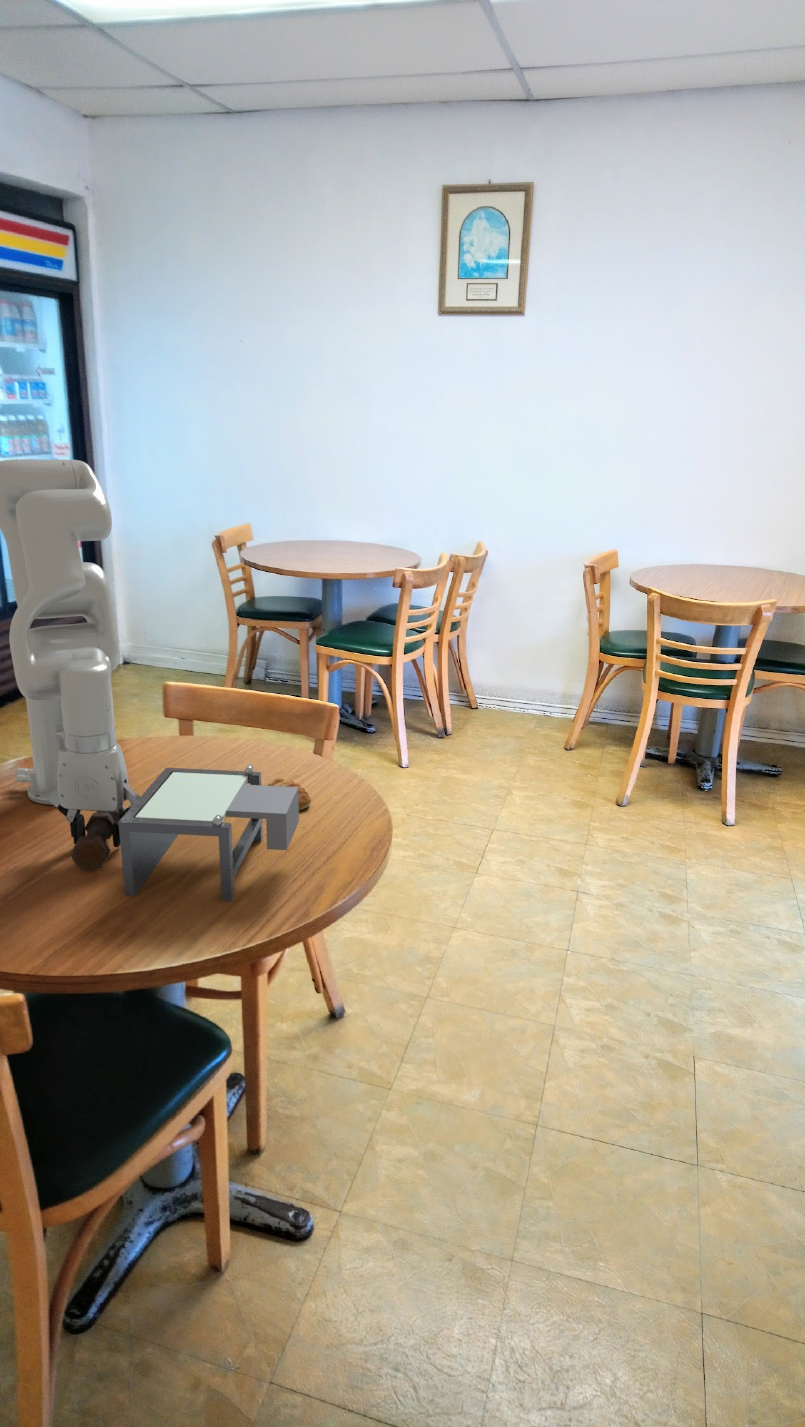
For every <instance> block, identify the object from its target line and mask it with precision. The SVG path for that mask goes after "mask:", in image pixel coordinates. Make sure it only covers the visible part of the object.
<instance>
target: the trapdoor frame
mask: <svg viewBox="0 0 805 1427" xmlns="http://www.w3.org/2000/svg"><path fill="white" fill-rule="evenodd" d="M254 770H255V767H254V765H253V764H248V765H247V766H246V768H245V769H244V771H243V770H228V769H227V770H226V769H225V770H224V769H223V770H222V769H203V768H186V767H185V768H182V767H181V768H180V767H164V770H163V771H162V772H161V773H160V774H158V776H157V777H156V778H155V779H154V781H152V783H151V784H150V785H149V786H148V788H147V789H146V790H145V791H144V792H143V793H142V794H141V795H140V798H139V799H138V800H137V801H136V802H135V804H134V805H133V806H132V807H131V808H130V809H129V810H128V812H127V813H126V814H125V815H124V816H123V817H122V818H121V820H120V821H119V834H120V854H121V868H122V878H123V890H124V896H125V897H136V896H137V893H139V891H140V890H141V889H142V887H143V885H144V884H145V883H146V882H147V880H148V878H149V877H150V876H151V874H152V873H153V871H154V870H155V868H156V867H157V865H158V864H159V863H160V862H161V860H162V859H163V857H164V856H165V854H166V853H167V851H168V850H169V848H170V847H171V846H172V844H173V843H174V842H175V840H176V838H177V837H178V835H181V836H183V835H185V836H202V837H203V836H204V837H218V848H219V849H218V852H219V874H220V875H219V876H220V895H221V897H220V898H221V902H227V903H228V902H229V903H233V900H234V898H235V884H234V879H235V877H236V875H237V873H238V872H239V870H240V867H241V865H242V862H243V861H244V859H245V857H246V855H247V853H248V851H249V850H250V847H251V845H252V843H253V842H258V843H261V842H262V841H263V839H264V826H263V825H264V824H263V822H264V821H263V820H264V819H258V818H249V821H248V823H247V824H246V825H245V828H244V830H243V831H242V833H241V836H240V837H239V839H238V841H237V842H236V845H235V847H234V849H233V836H232V835H233V834H232V833H233V832H232V830H233V829H232V822H223V823H222V820H223V817H222V816H221V815H216V816H215V817H214V819H213V820H212V822H202V821H183V820H164V819H144V818H135V817H136V816H137V814H138V813H139V812H140V811H141V810H142V809H143V807H144V806H145V805H146V804H147V803H148V801H149V800H150V799H151V798H152V797H153V796H154V794H155V793H156V792H157V791H158V790H159V788H160V787H161V786H162V785H163V784H164V783H165V781H166V780H167V779H168V778H169V777H170V775H171V774H172V773H173V772H180V773H201V774H222V775H243V776H248V782H247V785H262V772H261V771H254ZM262 786H263V785H262Z"/></svg>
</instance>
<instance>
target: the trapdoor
mask: <svg viewBox="0 0 805 1427" xmlns="http://www.w3.org/2000/svg"><path fill="white" fill-rule="evenodd" d="M247 782H248V776H243V775H222V774H201V773H180V772H173V773H172V774H171V775H170V777H169V778H168V779H167V780H166V781H165V783H164V784H163V785H162V786H161V787H160V788H159V790H158V791H157V792H156V793H155V794H154V796H153V797H152V798H151V799H150V800H149V801H148V803H147V804H146V805H145V806H144V807H143V809H142V810H141V811H140V812H139V813H138V814H137V816H136V817H135V818H144V819H164V820H183V821H202V822H212V820H213V819H214V817H215V816H216V815H221V816H222V817H223V820H222V823H225V822H224V821H225V820H226V818H238V819H239V818H242V819H243V818H245V819H251V818H258V819H263V820H266V821H265V823H266V824H265V825H266V850H275V851H276V850H277V851H288V849H289V846H290V844H291V841H292V839H293V837H294V834H295V832H296V829H297V828H298V825H299V822H300V816H299V814H300V813H299V811H300V810H299V798H298V787H282V786H267V785H250V784H248V783H247Z"/></svg>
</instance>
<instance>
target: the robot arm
mask: <svg viewBox="0 0 805 1427" xmlns="http://www.w3.org/2000/svg"><path fill="white" fill-rule="evenodd" d="M110 507H111V506H110V504H109V501H108V499H107V496H106V494H105V491H104V489H103V487H102V485H101V484H100V482H99V479H98V478H97V477H96V475H95V472H94V471H93V469H92V468H91V467H90V465H89V464H88V463H86V462H85V461H82V460H78V459H39V458H37V459H33V458H32V459H31V458H30V459H28V458H25V459H23V458H22V459H21V458H18V459H5V460H0V532H1V533H2V537H3V538H4V541H5V545H6V548H7V555H8V563H9V569H10V574H11V581H12V586H13V593H14V598H15V602H16V605H17V608H16V609H15V612H14V614H13V617H12V619H11V623H10V627H9V648H10V649H9V650H10V654H11V661H12V664H13V671H14V678H15V681H16V685H17V688H18V690H19V691H20V693H21V694H22V696H23V697H24V698H25V702H26V703H25V704H26V711H27V719H28V727H29V737H30V744H31V754H32V762H33V768H28V767H27V768H26V767H18V768H16V771H15V779H16V780H15V781H16V782H17V783H28V784H30V786H29V787H28V789H27V796H28V798H29V800H31V801H33V802H35V803H37V804H39V805H40V804H41V805H50V806H52V805H53V807H55V808H57V810H58V811H59V812H60V813H61V814H62V815H63V816H64V817H65V819H66V821H67V822H68V823H69V826H70V827H69V828H70V835H71V838H73V839H72V840H73V845H74V846H75V845H76V843H77V841H78V839H79V837H81V836H86V835H87V831H86V829H85V827H86V823H85V821H86V820H85V816H84V814H82V813H81V812H82V811H88V812H97V811H101V812H110V814H111V816H112V818H113V820H114V824H113V825H112V836H111V837H112V845H113V847H114V848H119V847H121V845H120V834H119V821H120V820H121V818H122V817H123V816H124V815H125V814H126V813H127V812H128V810H129V809H130V808H131V807H132V806H133V805H134V804H135V802H136V801H137V800H138V799H139V798H140V797H141V795H139V794H138V792H136V791H135V790H134V789H133V788H132V787H131V786H130V783H129V782H130V781H129V774H128V771H127V770H128V769H127V764H126V761H125V757H124V753H123V749H122V747H121V745H120V744H118V743H117V736H116V734H117V733H116V721H115V711H114V700H113V698H114V697H113V686H112V685H113V684H112V671H113V672H114V671H115V670H116V669H117V667H118V666H119V663H120V647H119V638H118V633H117V624H116V619H115V613H114V605H113V599H112V593H111V588H110V583H109V579H108V577H107V575H106V573H105V571H104V570H103V569H102V566H101V567H100V566H99V565H98V564H96V563H93V562H86V561H85V562H84V561H83V562H82V557H81V552H80V548H79V543H78V542H92V541H94V542H95V541H96V542H97V541H103V540H105V539H108V537H109V536H110V535H111V531H112V529H113V526H112V525H113V518H112V512H111V508H110ZM69 617H71V618H72V617H83V618H85V620H86V622H82V623H80V622H79V623H72V624H71V623H69V624H57V625H47V626H46V625H45V626H38V627H34V628H31V626H32V623H33V622H34V620H36V619H37V620H40V619H57V618H69ZM125 801H128V802H129V803H130V805H129V806H127V807H125V805H124V802H125Z"/></svg>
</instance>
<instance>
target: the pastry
mask: <svg viewBox="0 0 805 1427" xmlns="http://www.w3.org/2000/svg"><path fill="white" fill-rule="evenodd" d="M266 786H282V787H298V798H299V811H303V810H304V809H307V808H308V807H310V805H311V802H312V798H311V796H310V794H309V792H308V791H306V789H305V788H303V787H302V786H301V785H300V784H299V783H297V782H295V781H294V780H286V779H285V778H280V777H279V778H275V779H273V780H272V781H271V782H269V783H268V784H267V785H266Z"/></svg>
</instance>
